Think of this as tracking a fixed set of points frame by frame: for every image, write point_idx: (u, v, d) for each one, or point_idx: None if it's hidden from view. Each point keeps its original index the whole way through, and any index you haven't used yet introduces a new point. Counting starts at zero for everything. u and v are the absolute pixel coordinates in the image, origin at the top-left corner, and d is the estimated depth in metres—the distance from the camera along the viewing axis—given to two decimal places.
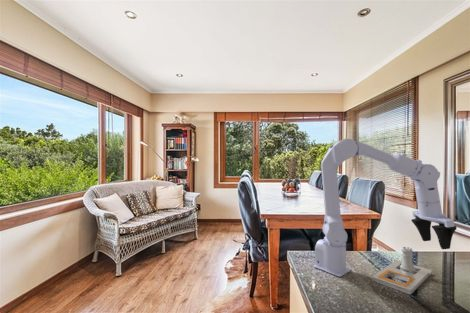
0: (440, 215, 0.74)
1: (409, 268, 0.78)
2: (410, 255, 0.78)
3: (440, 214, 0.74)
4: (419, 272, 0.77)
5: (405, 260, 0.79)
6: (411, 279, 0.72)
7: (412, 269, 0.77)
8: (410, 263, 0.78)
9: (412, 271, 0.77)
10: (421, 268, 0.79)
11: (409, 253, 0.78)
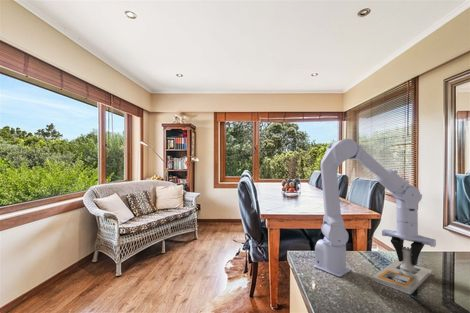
0: (417, 234, 0.78)
1: (409, 268, 0.78)
2: (410, 255, 0.78)
3: (417, 233, 0.78)
4: (419, 272, 0.77)
5: (405, 260, 0.79)
6: (411, 279, 0.72)
7: (412, 269, 0.77)
8: (410, 263, 0.78)
9: (412, 271, 0.77)
10: (421, 268, 0.79)
11: (409, 253, 0.78)
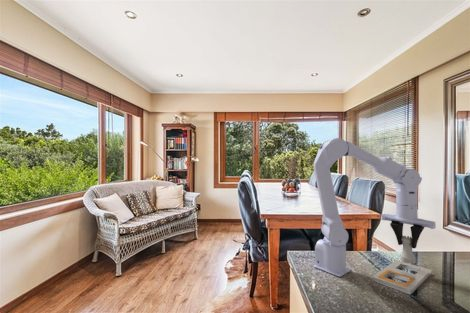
0: None
1: (408, 257, 0.78)
2: (409, 244, 0.78)
3: None
4: (419, 272, 0.77)
5: (405, 249, 0.79)
6: (411, 279, 0.72)
7: (412, 257, 0.77)
8: (410, 252, 0.78)
9: (412, 259, 0.77)
10: (421, 268, 0.79)
11: (408, 242, 0.78)
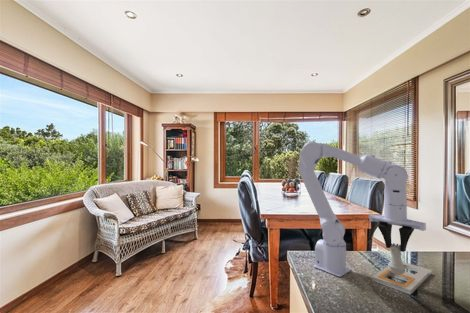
0: (406, 218, 0.72)
1: (397, 266, 0.72)
2: (398, 252, 0.72)
3: (406, 217, 0.72)
4: (419, 272, 0.77)
5: (393, 258, 0.73)
6: (411, 279, 0.72)
7: (400, 267, 0.71)
8: (398, 261, 0.72)
9: (400, 270, 0.71)
10: (421, 268, 0.79)
11: (397, 250, 0.72)
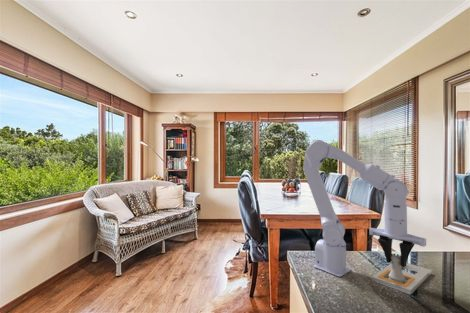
0: None
1: (397, 277, 0.72)
2: (399, 263, 0.72)
3: None
4: (419, 272, 0.77)
5: (393, 268, 0.73)
6: (411, 279, 0.72)
7: (401, 278, 0.71)
8: (399, 272, 0.72)
9: (401, 280, 0.71)
10: (421, 268, 0.79)
11: (397, 261, 0.72)
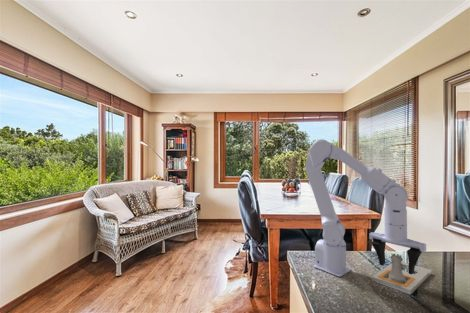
0: None
1: (397, 277, 0.72)
2: (399, 263, 0.72)
3: None
4: (419, 272, 0.77)
5: (393, 268, 0.73)
6: (411, 279, 0.72)
7: (401, 278, 0.71)
8: (399, 272, 0.72)
9: (401, 280, 0.71)
10: (421, 268, 0.79)
11: (398, 261, 0.72)
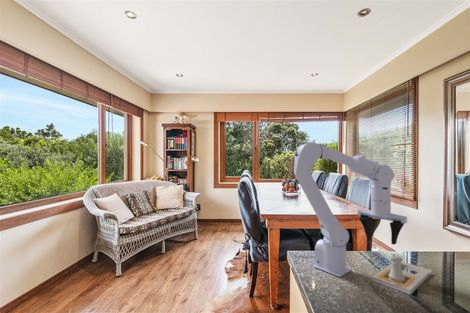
0: (390, 213, 0.80)
1: (397, 277, 0.72)
2: (399, 263, 0.72)
3: (390, 212, 0.80)
4: (419, 272, 0.77)
5: (393, 268, 0.73)
6: (411, 279, 0.72)
7: (401, 278, 0.71)
8: (399, 272, 0.72)
9: (401, 280, 0.71)
10: (421, 268, 0.79)
11: (398, 261, 0.72)
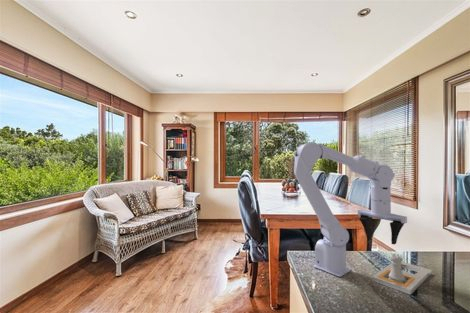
0: (390, 213, 0.80)
1: (397, 277, 0.72)
2: (399, 263, 0.72)
3: (390, 212, 0.80)
4: (419, 272, 0.77)
5: (393, 268, 0.73)
6: (411, 279, 0.72)
7: (401, 278, 0.71)
8: (399, 272, 0.72)
9: (401, 280, 0.71)
10: (421, 268, 0.79)
11: (398, 261, 0.72)
